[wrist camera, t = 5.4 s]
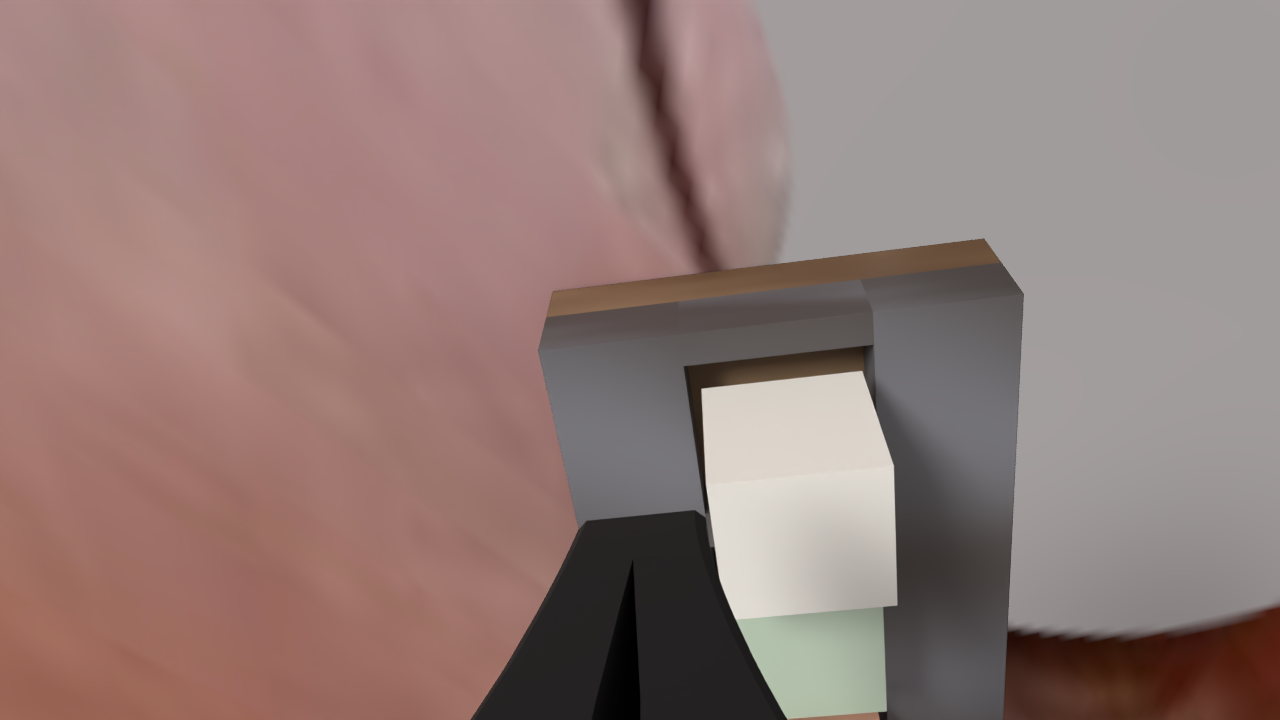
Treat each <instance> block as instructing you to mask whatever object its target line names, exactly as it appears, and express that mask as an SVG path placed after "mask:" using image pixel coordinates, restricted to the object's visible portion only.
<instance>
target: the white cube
mask: <svg viewBox="0 0 1280 720" xmlns="http://www.w3.org/2000/svg"><path fill="white" fill-rule="evenodd" d="M701 390H702V411H703V432H704V453H705V474H706V488H707V495H708V502H709V509H710V516H711V523H712V530H713V537H714V544H715V551H716V558H717V565H718V572H719V579H720V582H721V585H722V587H723V590H724V593H725V595H726V598H727V600H728V603H729V605H730V608H731V610H732V612H733V615H734V617H735V619H736V620H738V619H749V618H761V617H772V616H783V615H795V614H806V613H818V612H829V611H841V610H852V609H864V608H875V607H887V606H897V568H896V530H895V492H894V465H893V462H892V459H891V456H890V453H889V450H888V447H887V444H886V441H885V438H884V435H883V432H882V429H881V426H880V423H879V420H878V417H877V414H876V411H875V408H874V405H873V402H872V399H871V396H870V393H869V390H868V387H867V384H866V381H865V378H864V375H863V372H862V371H857V372H848V373H839V374H830V375H821V376H812V377H803V378H794V379H785V380H776V381H767V382H758V383H749V384H740V385H731V386H722V387H713V388H704V389H701Z"/></svg>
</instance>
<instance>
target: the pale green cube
mask: <svg viewBox="0 0 1280 720" xmlns="http://www.w3.org/2000/svg"><path fill="white" fill-rule="evenodd" d="M736 621H737V623H738V625H739V628H740V630H741V632H742V634H743V636H744V638H745V640H746V643H747V645H748V647H749V649H750V651H751V653H752V655H753V657H754V659H755V661H756V663H757V665H758V667H759V669H760V671H761V673H762V675H763V677H764V679H765V681H766V682H767V684H768V686H769V688H770V690H771V691H772V693H773V695H774V697H775V699H776V700H777V702H778V704H779V706H780V708H781V709H782V711H783V713H784V715H785V716H786V718H787V719H794V718H807V717H820V716H833V715H846V714H859V713H872V712H885V711H887V701H886V673H885V645H884V617H883V607H875V608H864V609H852V610H841V611H829V612H818V613H806V614H795V615H783V616H772V617H761V618H749V619H738V620H736Z"/></svg>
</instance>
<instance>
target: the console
mask: <svg viewBox="0 0 1280 720" xmlns="http://www.w3.org/2000/svg"><path fill="white" fill-rule="evenodd" d="M1023 297H1024V294H1023V292H1022V291H1021V289H1020V288H1019V287H1018V285H1017V284H1016V282H1015V281H1014V280H1013V278H1012V277H1011V276H1010V274H1009V273H1008V271H1007V270H1006V268H1005V267H1004V266H1003V264H1002V263H1001V262H1000V260H999V259H998V257H997V256H996V255H995V253H994V252H993V250H992V249H991V248H990V246H989V245H988V243H987V242H986V241H985V239H977V240H969V241H961V242H952V243H944V244H937V245H928V246H920V247H912V248H903V249H895V250H887V251H880V252H871V253H863V254H855V255H847V256H838V257H830V258H823V259H814V260H806V261H798V262H790V263H781V264H773V265H765V266H757V267H749V268H741V269H733V270H724V271H716V272H708V273H700V274H692V275H684V276H676V277H667V278H659V279H651V280H643V281H635V282H627V283H619V284H610V285H602V286H594V287H586V288H578V289H570V290H562V291H553V293H552V297H551V301H550V305H549V309H548V313H547V317H546V321H545V325H544V329H543V333H542V337H541V341H540V345H539V349H538V353H539V357H540V361H541V366H542V370H543V375H544V379H545V383H546V388H547V392H548V396H549V401H550V405H551V410H552V414H553V418H554V423H555V427H556V431H557V436H558V440H559V445H560V449H561V453H562V458H563V462H564V466H565V471H566V475H567V480H568V484H569V488H570V493H571V497H572V501H573V506H574V510H575V515H576V519H577V523H578V528H579V529H580V528H581V526H582V525H583V524H584V523H585V522H586V521H588V520H599V519H609V518H619V517H629V516H639V515H649V514H659V513H669V512H680V511H690V510H696V511H697V512H698V513H700V514H701V515H703V516H704V517H706V522H707V529H708V536H709V543H710V550H711V554H712V558H713V561H714V564H715V568H716V571H717V573H718V576H719V572H718V565H717V558H716V551H715V544H714V537H713V530H712V523H711V516H710V509H709V502H708V495H707V488H706V474H705V453H704V432H703V411H702V390H701V389H704V388H713V387H722V386H731V385H740V384H749V383H758V382H767V381H776V380H785V379H794V378H803V377H812V376H821V375H830V374H839V373H848V372H857V371H862V372H863V375H864V378H865V381H866V384H867V387H868V390H869V393H870V396H871V399H872V402H873V405H874V408H875V411H876V414H877V417H878V420H879V423H880V426H881V429H882V432H883V435H884V438H885V441H886V444H887V447H888V450H889V453H890V456H891V459H892V462H893V465H894V492H895V530H896V568H897V606H887V607H883V617H884V645H885V673H886V701H887V711H885V712H878V714H879V719H880V720H1003V710H1004V689H1005V669H1006V648H1007V627H1008V607H1009V586H1010V566H1011V544H1012V525H1013V503H1014V484H1015V462H1016V443H1017V420H1018V401H1019V380H1020V360H1021V339H1022V319H1023Z"/></svg>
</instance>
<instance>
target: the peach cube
mask: <svg viewBox="0 0 1280 720" xmlns="http://www.w3.org/2000/svg"><path fill="white" fill-rule="evenodd" d="M787 720H880V719H879V714H878V712H872V713H859V714H846V715H833V716H820V717H807V718H794V719H787Z"/></svg>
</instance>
